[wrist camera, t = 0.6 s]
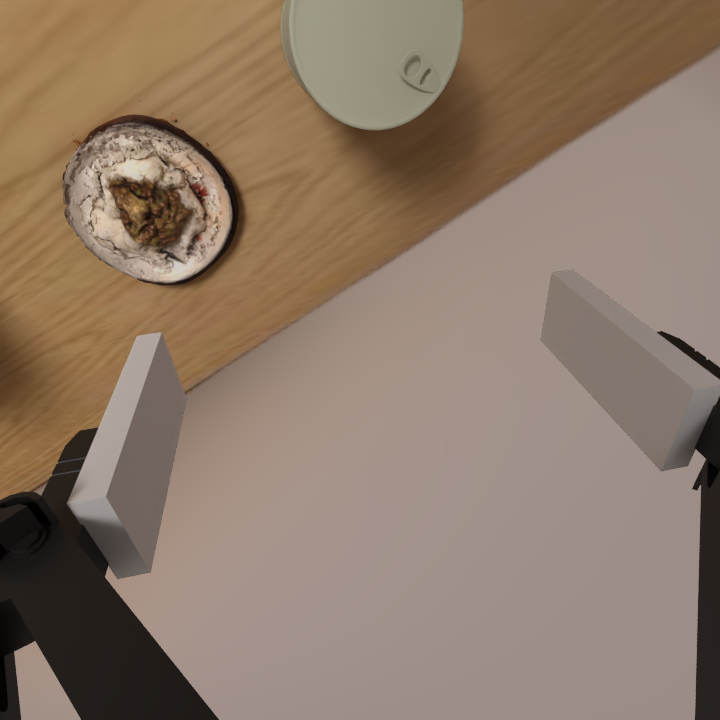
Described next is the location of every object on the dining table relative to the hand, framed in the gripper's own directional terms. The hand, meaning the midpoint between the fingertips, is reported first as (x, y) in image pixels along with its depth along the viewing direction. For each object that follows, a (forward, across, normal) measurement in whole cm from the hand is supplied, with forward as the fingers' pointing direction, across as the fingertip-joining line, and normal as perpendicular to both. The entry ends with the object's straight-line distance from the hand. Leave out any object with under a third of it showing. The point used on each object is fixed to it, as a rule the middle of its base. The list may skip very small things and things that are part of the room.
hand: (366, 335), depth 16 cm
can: (+27, +4, +8) cm, 28 cm away
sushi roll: (+27, -12, -1) cm, 30 cm away
